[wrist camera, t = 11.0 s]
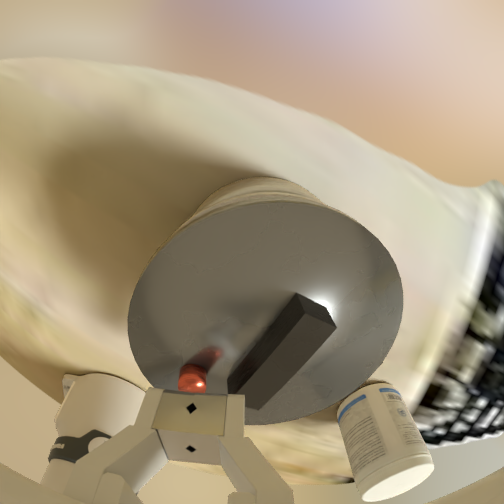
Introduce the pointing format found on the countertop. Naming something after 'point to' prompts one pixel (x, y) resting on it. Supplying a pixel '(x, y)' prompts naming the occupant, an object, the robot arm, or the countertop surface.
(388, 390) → the supplement tub
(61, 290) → the countertop surface
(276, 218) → the cooker lid
